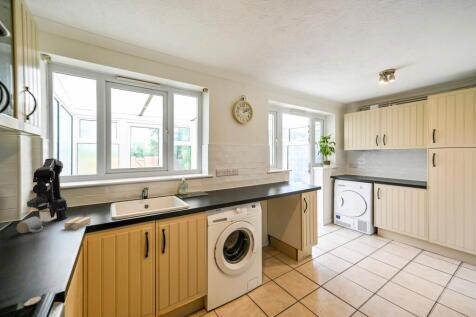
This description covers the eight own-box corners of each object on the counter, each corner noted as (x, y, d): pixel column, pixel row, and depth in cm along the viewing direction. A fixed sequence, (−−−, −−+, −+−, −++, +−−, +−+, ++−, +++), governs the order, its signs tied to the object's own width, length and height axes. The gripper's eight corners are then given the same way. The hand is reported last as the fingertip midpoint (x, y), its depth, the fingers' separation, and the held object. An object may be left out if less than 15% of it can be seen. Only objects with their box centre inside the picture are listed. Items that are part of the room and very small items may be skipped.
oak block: (64, 229, 118) (64, 223, 118) (77, 223, 127) (77, 217, 127) (79, 229, 118) (78, 222, 117) (90, 223, 127) (90, 217, 126)
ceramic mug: (15, 234, 112) (14, 221, 112) (31, 228, 120) (29, 216, 120) (33, 234, 112) (32, 221, 111) (47, 228, 120) (46, 216, 120)
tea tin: (40, 221, 110) (39, 210, 110) (49, 218, 115) (48, 208, 115) (47, 221, 110) (46, 210, 109) (56, 218, 115) (55, 208, 114)
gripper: (14, 194, 104) (17, 222, 105) (45, 194, 103) (48, 223, 104) (37, 189, 115) (39, 215, 116) (66, 189, 114) (68, 215, 115)
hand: (48, 217), depth 112 cm, fingers closed on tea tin, 5 cm apart
